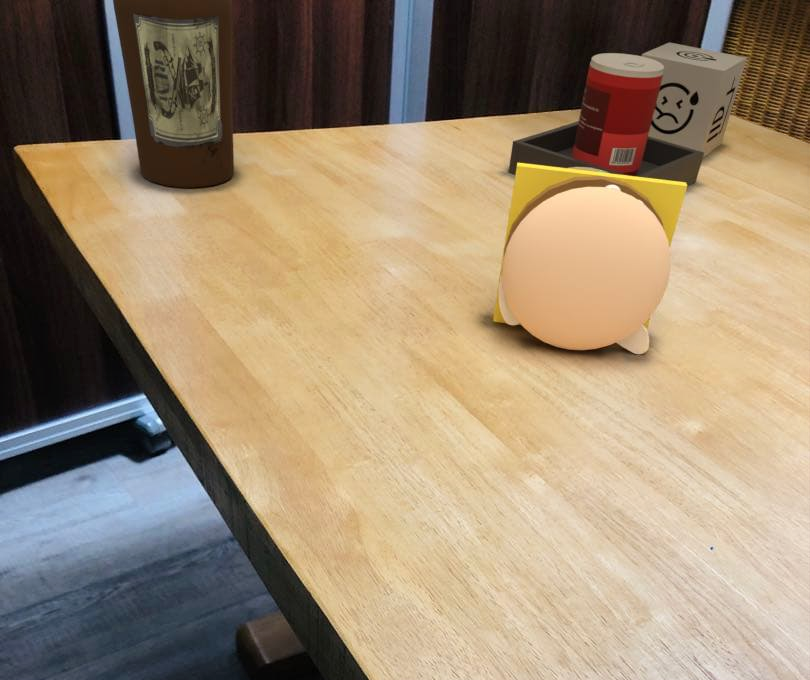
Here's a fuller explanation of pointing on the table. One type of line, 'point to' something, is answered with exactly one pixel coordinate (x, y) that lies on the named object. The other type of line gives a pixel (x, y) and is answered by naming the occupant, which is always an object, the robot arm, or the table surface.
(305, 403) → the table surface
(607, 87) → the canned food
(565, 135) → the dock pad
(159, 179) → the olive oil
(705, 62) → the icon cube
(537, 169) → the hamburger
